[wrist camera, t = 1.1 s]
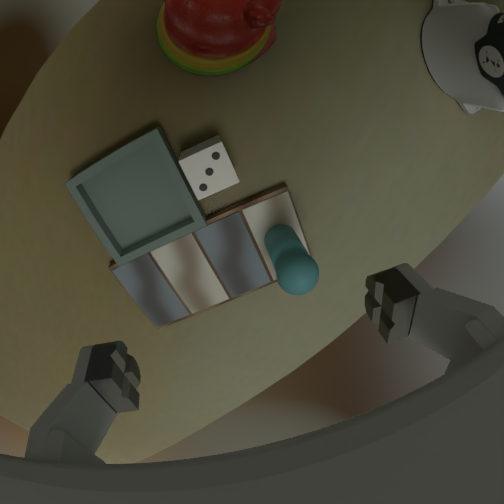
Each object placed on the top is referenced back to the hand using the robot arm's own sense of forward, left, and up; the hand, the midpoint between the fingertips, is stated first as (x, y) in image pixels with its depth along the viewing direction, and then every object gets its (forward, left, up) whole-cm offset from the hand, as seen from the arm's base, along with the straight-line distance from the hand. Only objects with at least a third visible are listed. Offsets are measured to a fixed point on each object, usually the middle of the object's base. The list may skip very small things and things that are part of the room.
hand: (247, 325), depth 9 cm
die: (+1, +1, -27) cm, 27 cm away
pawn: (-3, +13, -25) cm, 28 cm away
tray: (+10, +1, -27) cm, 28 cm away
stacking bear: (-5, -12, -27) cm, 30 cm away
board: (+6, +13, -27) cm, 30 cm away
